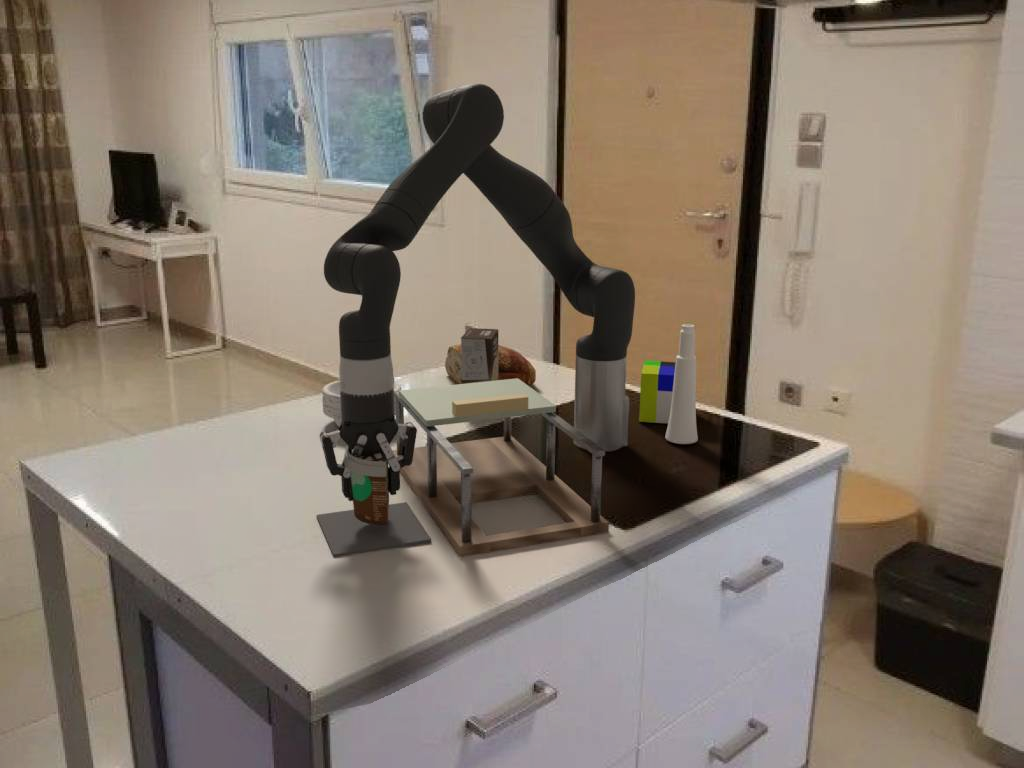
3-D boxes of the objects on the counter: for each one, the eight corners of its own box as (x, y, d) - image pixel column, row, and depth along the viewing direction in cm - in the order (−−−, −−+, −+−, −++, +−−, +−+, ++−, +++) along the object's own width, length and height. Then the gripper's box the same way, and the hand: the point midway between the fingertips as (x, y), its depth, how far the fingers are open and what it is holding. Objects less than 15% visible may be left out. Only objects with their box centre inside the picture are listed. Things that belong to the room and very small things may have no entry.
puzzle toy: (689, 425, 186) (692, 376, 183) (639, 421, 188) (641, 373, 185) (690, 409, 195) (693, 363, 193) (642, 406, 197) (644, 360, 195)
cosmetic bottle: (704, 440, 177) (712, 326, 171) (681, 446, 174) (688, 330, 168) (681, 431, 182) (688, 320, 176) (658, 437, 179) (664, 324, 172)
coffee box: (492, 416, 191) (492, 338, 186) (460, 414, 191) (460, 337, 187) (498, 402, 199) (499, 328, 195) (469, 401, 200) (468, 327, 196)
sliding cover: (517, 383, 167) (517, 367, 166) (556, 411, 151) (556, 394, 151) (398, 395, 159) (398, 378, 158) (426, 426, 144) (425, 408, 143)
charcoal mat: (406, 505, 148) (406, 502, 147) (431, 542, 135) (431, 539, 135) (316, 518, 143) (316, 514, 143) (333, 558, 130) (333, 554, 130)
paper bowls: (383, 408, 195) (382, 371, 193) (415, 429, 183) (414, 390, 180) (312, 420, 187) (310, 382, 185) (340, 443, 175) (338, 402, 173)
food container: (348, 496, 143) (346, 434, 141) (389, 495, 144) (387, 433, 141) (343, 531, 132) (340, 464, 129) (387, 529, 132) (385, 463, 129)
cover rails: (509, 437, 173) (509, 379, 170) (602, 522, 139) (605, 450, 135) (395, 451, 166) (393, 391, 163) (464, 544, 131) (463, 469, 128)
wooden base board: (511, 443, 175) (511, 435, 175) (608, 531, 139) (608, 522, 138) (390, 458, 167) (389, 450, 167) (459, 556, 131) (459, 546, 130)
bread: (444, 375, 220) (443, 333, 217) (518, 369, 225) (519, 329, 222) (464, 400, 201) (464, 355, 198) (545, 394, 206) (546, 349, 203)
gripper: (409, 373, 138) (412, 480, 143) (311, 383, 134) (317, 493, 138) (423, 387, 132) (425, 499, 137) (320, 397, 127) (326, 513, 132)
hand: (371, 495), depth 137 cm, fingers closed on food container, 5 cm apart
